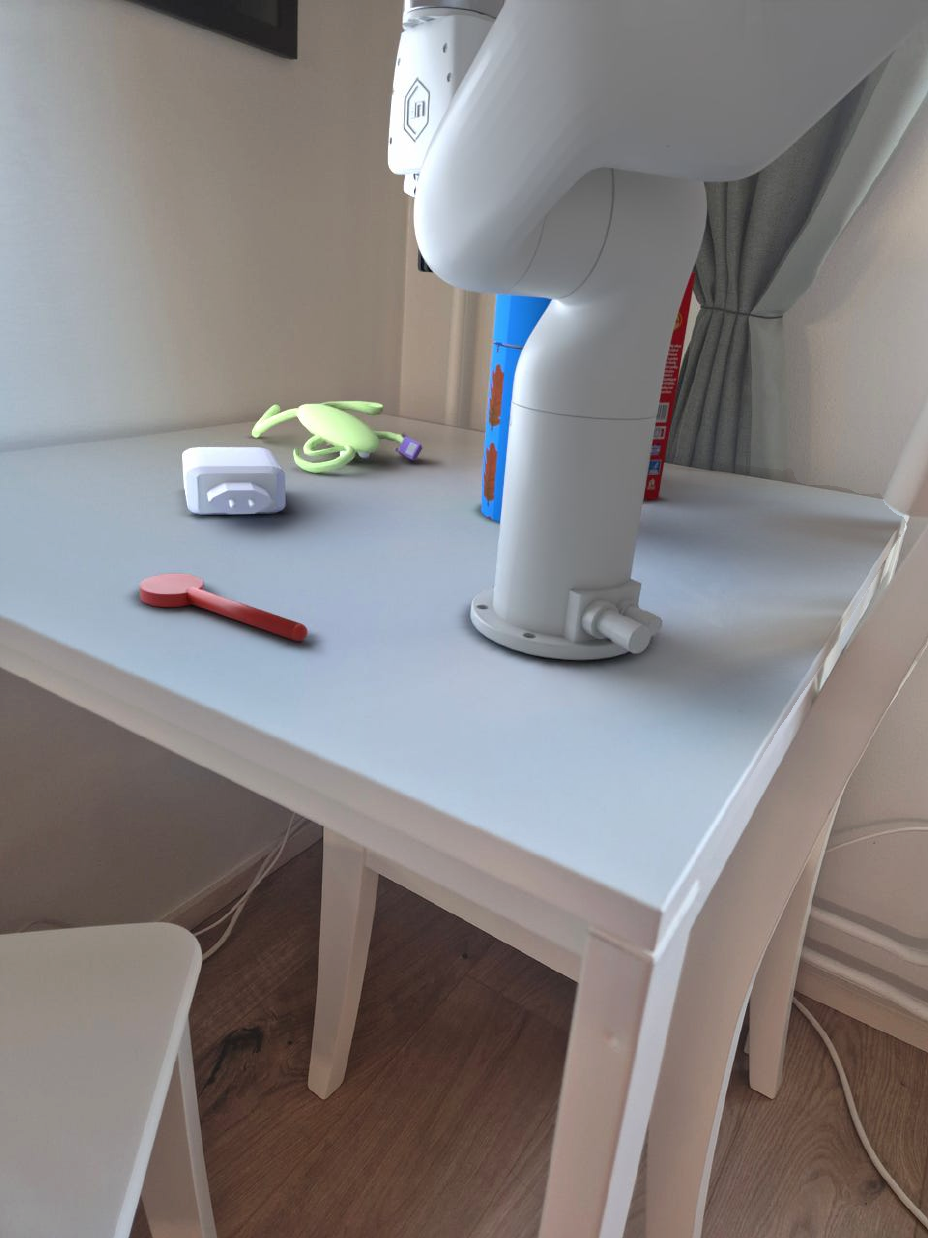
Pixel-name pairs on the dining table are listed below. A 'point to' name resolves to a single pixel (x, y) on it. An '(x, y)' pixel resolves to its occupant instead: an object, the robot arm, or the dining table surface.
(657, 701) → the dining table surface
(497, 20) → the robot arm
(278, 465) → the charger
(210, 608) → the red flat paddle
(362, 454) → the figurine
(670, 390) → the food packaging
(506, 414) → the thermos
